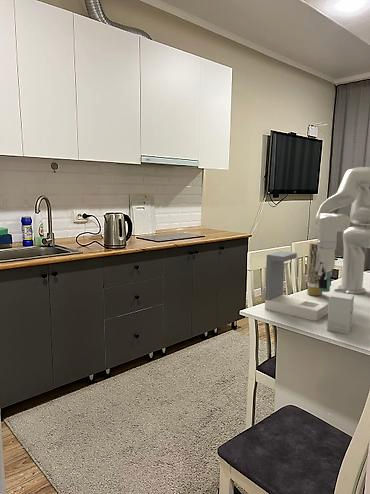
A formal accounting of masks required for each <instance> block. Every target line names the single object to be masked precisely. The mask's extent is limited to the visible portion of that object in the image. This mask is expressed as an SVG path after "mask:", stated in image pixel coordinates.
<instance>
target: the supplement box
mask: <svg viewBox="0 0 370 494" xmlns="http://www.w3.org/2000/svg"><path fill="white" fill-rule="evenodd" d="M328 297H329V299H328V304H329V307H328V314H327V325H326V327H327V328H326V330H327V331H330V332H335V333H340V334H343V335H344V334H345V335H349V334H350V332H351V330H352V325H353V313H354V298H355V294H353V293H350V294H346V293H338V292H334V291H333V292H331V294H330V295H329V296H328Z"/></svg>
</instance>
